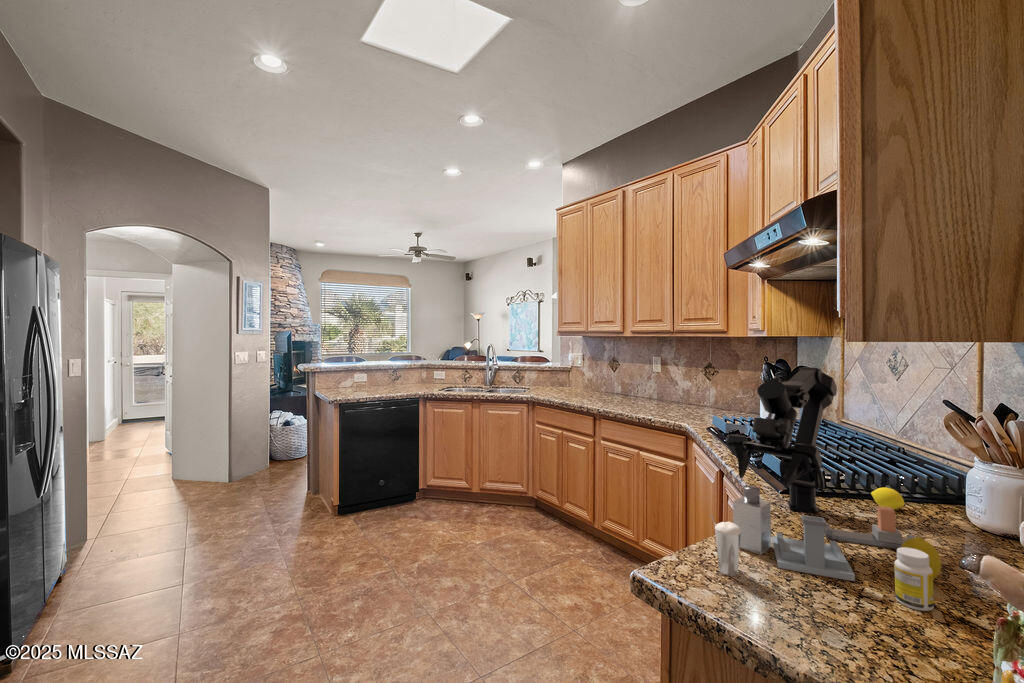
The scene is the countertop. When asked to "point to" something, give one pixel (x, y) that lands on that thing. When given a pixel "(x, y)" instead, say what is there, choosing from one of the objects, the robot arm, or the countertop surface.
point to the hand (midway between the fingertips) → (762, 482)
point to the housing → (753, 520)
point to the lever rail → (859, 538)
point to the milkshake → (728, 547)
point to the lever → (886, 526)
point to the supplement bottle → (913, 579)
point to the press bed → (801, 566)
